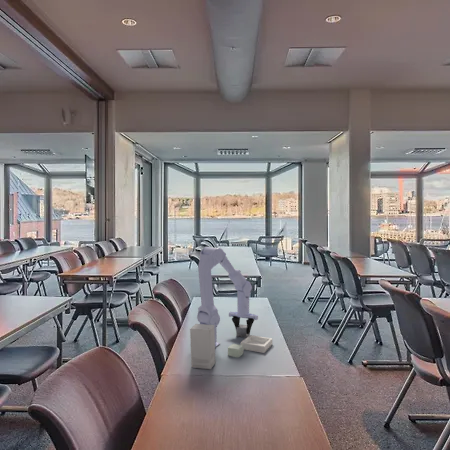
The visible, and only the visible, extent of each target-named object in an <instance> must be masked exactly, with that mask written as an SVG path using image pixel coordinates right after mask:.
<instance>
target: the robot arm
mask: <svg viewBox="0 0 450 450" xmlns="http://www.w3.org/2000/svg"><path fill="white" fill-rule="evenodd" d="M218 264H220V265H221V267H222V268H223V269H224V270H225V271H226V272H227V273H228V278H229V279H230V281H231V282H232V283H233V285H234V290H236V291H237V296H236V297H237V298H236V299H237V301H236V302H237V307H236V310H237V311H228V317H229V318H231V317H232V318H231V320H232V322H233V325H234V328H235V329H236V327H237V326H239V325H240V324H241V323H240V322H241V319H246V325H247V334H250V335H251V330H252V326H253V324H254V322H255V321H258V320H259V315H258V314H254V313H250V296H251V292H252V289H253V286H252V284H251V282H250V281H249V280H247V279H246V277H245V276H244V275H243V274H242V270H240V269H238V268H234V266H233V264H232V263H231V261H230V260H229V259H228V257H227V254H226V252H225V251H224V249H222V248H221V247H213V246H212V247H211V246H204V247H203V248H202V249H201V250H200V252H199V262H198V265H197V268H198V269H197V271H198V281H199V292H200V302H201V304H200V306H199V307H197V309H198V311H197V316H196V319H197V321H198V323H199V324H205V325H214V332H215V348H216V347H218V346H219V345H221V343H220V342H218V341H217V333H218V332H217V328H218V326H219V324H220V321H221V316H220V314H219V312H218V311H219V310H218V308H217V307H216V306H215V302H214V291H213V280H212V279H213V278H212V269H213V268H214V267H216V266H217V265H218Z"/></svg>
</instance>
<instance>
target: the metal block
mask: <svg viewBox="0 0 450 450" xmlns="http://www.w3.org/2000/svg"><path fill="white" fill-rule="evenodd" d="M235 332H236V334H235V335H236V337H237V338H244V339H246V338H247V337H248V336H249V335H251V333H250V334H247V324H241V323H239V326H237V327H236V328H235Z"/></svg>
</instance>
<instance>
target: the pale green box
mask: <svg viewBox="0 0 450 450" xmlns="http://www.w3.org/2000/svg"><path fill="white" fill-rule="evenodd" d="M243 354H244V349H243V345H241V344H237V343H232V344H231V345H229V346H228V347H227V356H228V357H233V358H240V357H241V356H242V355H243Z"/></svg>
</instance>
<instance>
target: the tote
mask: <svg viewBox="0 0 450 450" xmlns="http://www.w3.org/2000/svg"><path fill="white" fill-rule="evenodd" d="M240 345H243V351H244V350H245V351H251V352H257V353H263V354H265V353H266V352H267V351H268V350H269V349H270V348H271V347H272V346H273V338H272V337H265V336H260V335H259V336H258V335H253V334H252V335H251V334H250V335H249V336H248V337H247V338H244V339H242V341H241V342H240Z"/></svg>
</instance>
